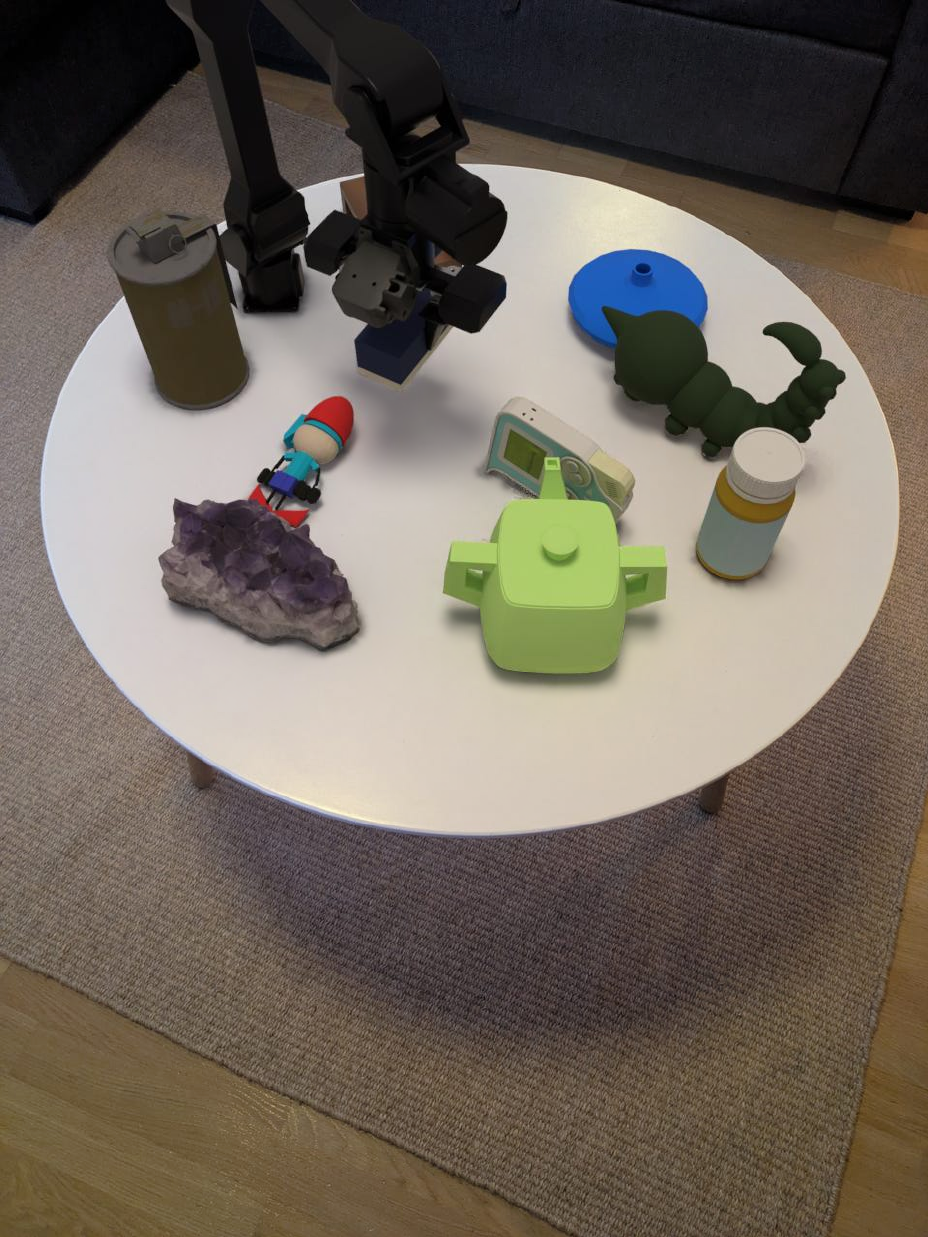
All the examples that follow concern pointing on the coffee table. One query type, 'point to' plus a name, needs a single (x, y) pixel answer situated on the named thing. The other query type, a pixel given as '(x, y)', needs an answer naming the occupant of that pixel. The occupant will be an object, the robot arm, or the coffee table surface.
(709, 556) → the bottle
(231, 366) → the canister
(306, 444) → the toy figure
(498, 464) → the handheld gaming console
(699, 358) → the green caterpillar figure
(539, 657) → the teapot
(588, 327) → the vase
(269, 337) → the coffee table surface
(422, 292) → the dark blue rectangular block
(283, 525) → the geode
